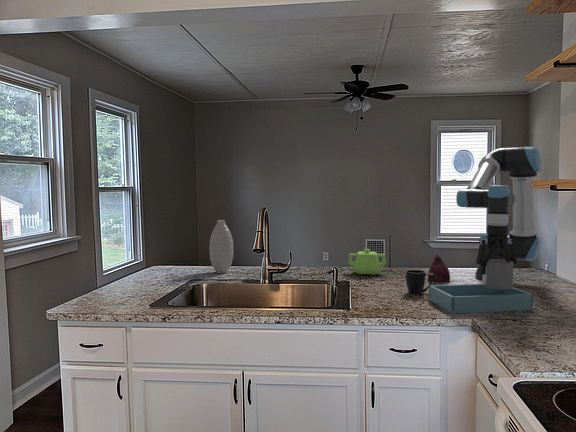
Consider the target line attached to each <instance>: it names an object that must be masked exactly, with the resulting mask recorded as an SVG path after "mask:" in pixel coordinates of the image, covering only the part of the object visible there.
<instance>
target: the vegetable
mask: <svg viewBox="0 0 576 432" xmlns="http://www.w3.org/2000/svg"><path fill="white" fill-rule="evenodd" d="M428 269H429V270H428V273H427V274H434V281H433V282H432V283H438V284H439V283H441V284H443V283H450V282H451V273H450V270H449V268H448V266H447V264H446V263H445V262H444V260H443V258H442V257H441V256H440V255H439V254H437V253H436V255H435V256H434V259H433V261H432V262H431V265H430V267H429V268H428ZM432 278H433V276H432V275H427V281H429V282H431V281H432Z"/></svg>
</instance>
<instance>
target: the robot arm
mask: <svg viewBox="0 0 576 432" xmlns="http://www.w3.org/2000/svg"><path fill="white" fill-rule="evenodd" d="M477 168H478V169H477V171H476V172H475V174H474V176H473V177H472V179H471V181H470V183H469V184H468V186H467V188H466V189H464V188H463V189H459V190H458V191H457V192H456V198H455V199H456V205H457V207H460V208H466V209H467V208H468V209H469V208H471V209H472V208H473V209H474V208H477V209H487V215H486V216H487V226H486V233H481V234H480V238H479V240H478V242H479V247H478V251H477V256H476V261H475V264H477V268H476V270H475V273H474V274H475V275H474V277H475V279H477V280H482V283H483V284H485V283H486V275H487V267H486V265H487V262H488V261H489V260H492V259H497V260H506V261H507V262H508V263H509V262H510V261H512V262H513V266H515V265H517V263H518V261H523V262H526V261H527V262H529V261H530V262H534V261H536V259H537V258H538V255H539V253H540V252H539V251H540V246H541V237H539V236H537V231H535V229H534V185H533V186H532V181H533V182H534V179H535V178H536V177H538V173H540V172H541V170H542V160H541V155H540V151H539V150H538V148H537V147H534V146H519V147H518V146H517V147H516V146H515V147H501V148H497V149H494V150H492V151H490V152H488V153H487V154H486V155H484V156H483V157H482V158H481V160H480V161H479V163H478V167H477ZM500 173H504V174H505V173H508V175H509V176H508V178H510V179H511V180H512V191H511V190H510V187H509V185H506V184H504V185H503V184H502V185H500V184H499V185H498V184H497V185H496V184H494V185H493V184H491V183H492V181H493V179H494V177H495V176H497V175H498V174H500ZM527 181H528V182H527ZM529 181H531V182H529ZM511 207H512V230H510V231H509V225H508V224H509V209H510V208H511Z"/></svg>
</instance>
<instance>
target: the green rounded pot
mask: <svg viewBox="0 0 576 432" xmlns="http://www.w3.org/2000/svg"><path fill="white" fill-rule="evenodd" d="M363 250H364V251H361V250H360V251H357V253H349V254H348V261H347V264H349V265H350V266H351V267H353V268H354V271H355V273H356V274H357V275H359V274H361V275H360V276H364V275H370V274H371V275H370V276H376V275H378V274H379V273H380V269H382V267H384V266H386V265H387V258H386V253H377V252H376V251H371V249H370V248H364V249H363ZM353 257H355V260H354V261H353ZM380 257H381V262H380V259H379V258H380ZM363 274H364V275H363Z"/></svg>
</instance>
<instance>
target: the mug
mask: <svg viewBox="0 0 576 432" xmlns="http://www.w3.org/2000/svg"><path fill="white" fill-rule="evenodd" d="M428 275H432V276H433V278H432V281H429V282H430V283H429V284H428V285H427V287H426V288H424V287H425V282H426V276H428ZM433 281H434V274H428V273H426V271H424V270H421V269H407V270H406V271H405V283H406V287H407V291H408V293H409V294H411V295H421V294H423V293H425V292H426V291H428V290H429V286H432V283H434V282H433Z"/></svg>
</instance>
